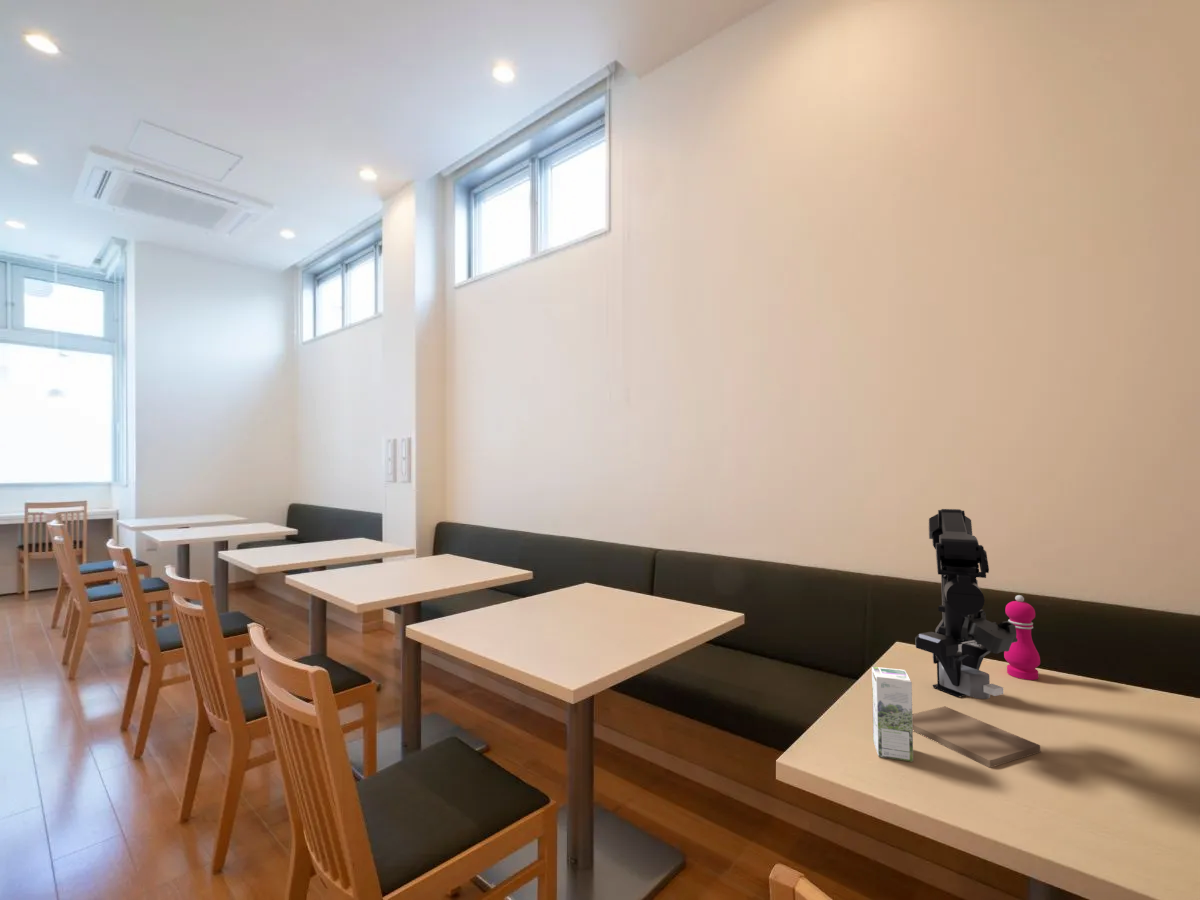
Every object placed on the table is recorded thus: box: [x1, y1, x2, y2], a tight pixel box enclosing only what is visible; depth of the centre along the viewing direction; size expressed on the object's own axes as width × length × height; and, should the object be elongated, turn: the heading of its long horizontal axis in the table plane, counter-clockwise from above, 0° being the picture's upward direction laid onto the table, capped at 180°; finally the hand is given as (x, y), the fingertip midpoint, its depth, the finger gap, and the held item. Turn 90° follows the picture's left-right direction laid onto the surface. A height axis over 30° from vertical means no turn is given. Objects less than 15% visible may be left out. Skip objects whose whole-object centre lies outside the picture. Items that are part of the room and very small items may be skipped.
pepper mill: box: [1003, 594, 1041, 681], centre depth 136 cm, size 7×7×20 cm
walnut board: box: [912, 706, 1041, 768], centre depth 104 cm, size 18×14×1 cm
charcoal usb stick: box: [939, 662, 1004, 700], centre depth 104 cm, size 11×4×4 cm, turn 22°
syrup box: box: [871, 666, 914, 762], centre depth 99 cm, size 6×6×14 cm
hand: (963, 684), depth 105 cm, fingers closed on charcoal usb stick, 4 cm apart
